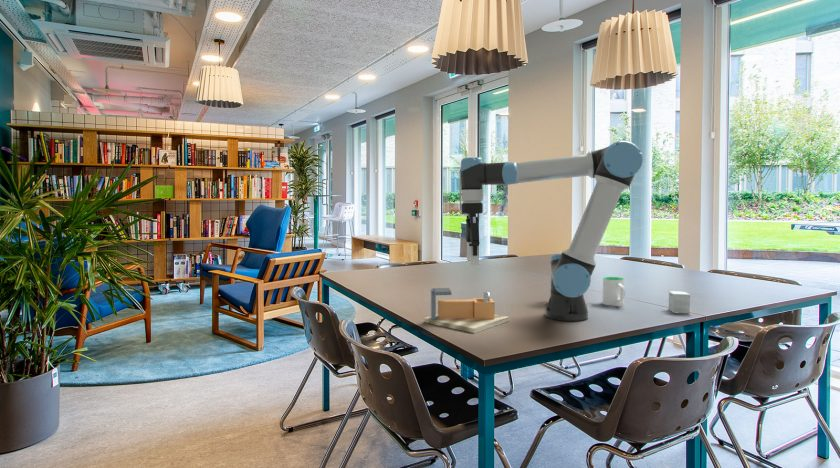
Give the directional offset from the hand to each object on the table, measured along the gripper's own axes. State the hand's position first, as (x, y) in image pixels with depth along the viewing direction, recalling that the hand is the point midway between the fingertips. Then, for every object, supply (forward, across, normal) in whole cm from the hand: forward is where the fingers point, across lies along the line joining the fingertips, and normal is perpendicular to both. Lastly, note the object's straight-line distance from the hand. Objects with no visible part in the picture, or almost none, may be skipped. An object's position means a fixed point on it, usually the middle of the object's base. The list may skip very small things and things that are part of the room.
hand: (472, 262), depth 182 cm
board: (+21, 0, -2) cm, 21 cm away
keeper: (+19, +2, -12) cm, 23 cm away
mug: (+22, -26, +61) cm, 70 cm away
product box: (+22, -13, +80) cm, 84 cm away
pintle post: (+20, +1, +5) cm, 20 cm away
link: (+20, 0, -3) cm, 20 cm away
